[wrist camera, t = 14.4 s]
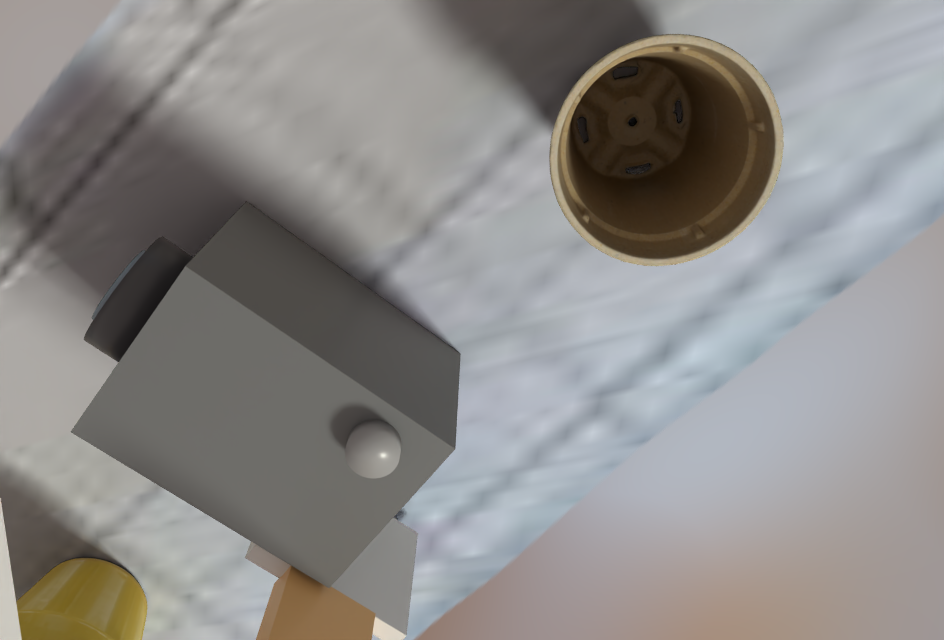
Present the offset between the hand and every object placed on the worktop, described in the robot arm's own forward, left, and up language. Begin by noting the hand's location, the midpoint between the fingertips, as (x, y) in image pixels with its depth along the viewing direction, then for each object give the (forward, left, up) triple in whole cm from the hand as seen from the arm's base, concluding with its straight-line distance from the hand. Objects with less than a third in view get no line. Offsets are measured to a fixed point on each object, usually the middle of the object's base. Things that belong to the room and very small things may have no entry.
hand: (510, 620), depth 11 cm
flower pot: (-7, -1, -35) cm, 36 cm away
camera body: (+10, +12, -35) cm, 38 cm away
